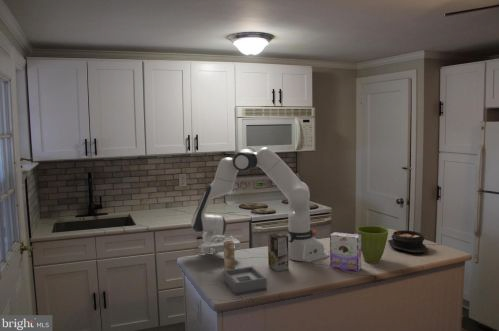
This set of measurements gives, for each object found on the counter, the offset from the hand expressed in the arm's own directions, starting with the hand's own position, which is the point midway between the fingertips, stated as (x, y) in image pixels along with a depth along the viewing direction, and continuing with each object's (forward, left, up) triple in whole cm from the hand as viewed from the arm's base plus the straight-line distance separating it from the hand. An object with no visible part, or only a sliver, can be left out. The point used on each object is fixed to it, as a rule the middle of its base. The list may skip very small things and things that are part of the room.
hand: (225, 250), depth 202 cm
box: (0, +26, -8) cm, 28 cm away
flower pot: (-70, +24, -8) cm, 74 cm away
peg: (0, +6, -8) cm, 10 cm away
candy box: (-52, +26, -8) cm, 59 cm away
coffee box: (-23, +12, -8) cm, 27 cm away
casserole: (-100, +16, -8) cm, 101 cm away
